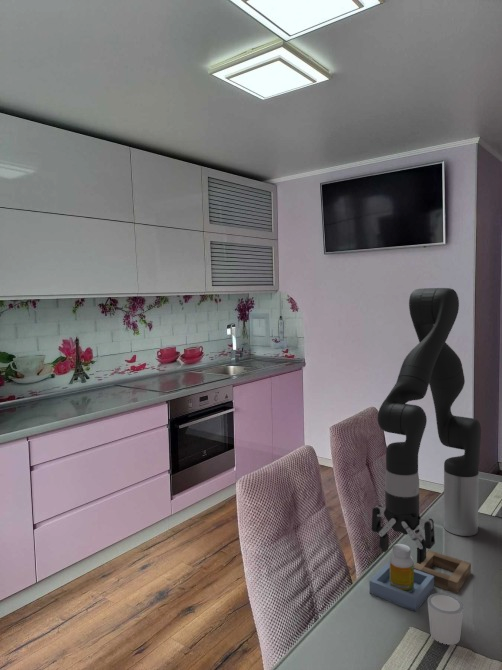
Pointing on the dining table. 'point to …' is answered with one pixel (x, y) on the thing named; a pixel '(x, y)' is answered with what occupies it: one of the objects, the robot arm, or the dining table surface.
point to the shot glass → (445, 618)
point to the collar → (440, 579)
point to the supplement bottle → (402, 568)
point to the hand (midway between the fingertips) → (402, 556)
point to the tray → (398, 596)
